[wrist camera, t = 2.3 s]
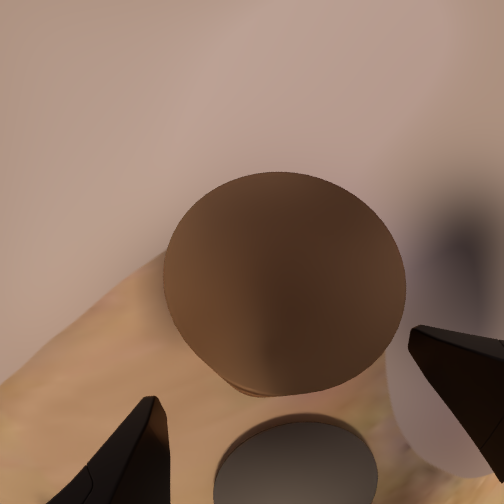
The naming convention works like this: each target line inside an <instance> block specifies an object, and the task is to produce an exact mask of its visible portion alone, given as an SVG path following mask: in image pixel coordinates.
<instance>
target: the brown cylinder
mask: <svg viewBox="0 0 504 504" xmlns="http://www.w3.org/2000/svg"><path fill="white" fill-rule="evenodd" d="M163 280H164V292H165V297H166V301H167V305H168V309H169V311H170V314H171V316H172V319H173V321H174V324H175V326H176V327H177V329H178V331H179V332H180V334H181V336H182V337H183V339H184V340H185V342H186V343H187V344H188V345H189V346H190V348H191V349H192V350H193V351H194V352H195V354H196V355H197V356H198V357H200V358H201V359H202V360H203V361H204V362H205V363H206V364H207V365H208V366H209V367H210V368H212V369H213V370H214V371H215V372H216V373H217V374H218V375H219V376H221V377H222V378H223V379H224V380H225V381H226V382H227V383H229V384H230V385H231V386H232V387H233V388H235V389H236V390H238V391H239V392H241V393H243V394H246V395H249V396H253V397H276V396H287V395H297V394H305V393H311V392H317V391H322V390H326V389H329V388H332V387H335V386H337V385H340V384H342V383H344V382H346V381H348V380H350V379H352V378H354V377H356V376H357V375H359V374H360V373H361V372H363V371H364V370H365V369H367V368H368V367H369V366H371V365H372V364H373V363H374V362H375V361H376V360H377V359H378V358H379V357H380V356H381V355H382V353H383V352H384V351H385V349H386V348H387V346H388V345H389V344H390V342H391V341H392V339H393V337H394V335H395V333H396V331H397V329H398V327H399V324H400V321H401V318H402V315H403V311H404V305H405V300H406V279H405V270H404V266H403V262H402V258H401V255H400V253H399V250H398V247H397V245H396V243H395V241H394V239H393V237H392V235H391V233H390V232H389V230H388V229H387V227H386V226H385V225H384V223H383V222H382V220H381V219H380V218H379V217H378V216H377V215H376V213H375V212H374V211H373V210H372V209H370V208H369V207H368V206H367V205H366V204H365V203H364V202H363V201H361V200H360V199H359V198H357V197H356V196H355V195H353V194H352V193H350V192H348V191H347V190H345V189H343V188H341V187H339V186H337V185H335V184H333V183H331V182H328V181H325V180H323V179H320V178H317V177H312V176H309V175H304V174H298V173H290V172H267V173H259V174H253V175H248V176H244V177H241V178H238V179H235V180H232V181H230V182H227V183H225V184H223V185H221V186H219V187H217V188H215V189H214V190H212V191H211V192H209V193H208V194H206V195H205V196H204V197H202V198H201V199H200V200H199V201H197V202H196V203H195V204H194V205H193V206H192V207H191V208H190V210H189V211H188V212H187V213H186V214H185V215H184V217H183V218H182V220H181V221H180V222H179V224H178V226H177V227H176V229H175V231H174V233H173V235H172V237H171V240H170V243H169V245H168V248H167V252H166V257H165V261H164V274H163Z"/></svg>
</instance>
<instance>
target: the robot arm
mask: <svg viewBox="0 0 504 504" xmlns="http://www.w3.org/2000/svg"><path fill="white" fill-rule="evenodd" d="M408 350H409V352H410V354H411V355H412V357H413V359H414V360H415V362H416V363H417V365H418V366H419V368H420V369H421V371H422V373H423V374H424V376H425V377H426V379H427V380H428V382H429V383H430V384H431V385H432V387H433V388H434V389H435V391H436V392H437V393H438V394H439V396H440V397H441V398H442V400H443V401H444V402H445V404H446V405H447V406H448V407H449V409H450V410H451V411H452V413H453V414H454V415H455V417H456V418H457V419H458V421H459V422H460V424H461V425H462V426H463V428H464V429H465V430H466V432H467V433H468V435H469V436H470V437H471V439H472V440H473V441H474V443H475V445H476V446H477V447H478V449H479V450H480V452H481V454H482V455H483V456H484V458H485V459H486V461H487V462H488V464H489V465H490V467H491V468H492V470H493V472H494V473H495V475H496V476H497V478H498V479H499V481H500V482H501V483H503V482H504V340H497V339H492V338H487V337H481V336H476V335H470V334H465V333H459V332H455V331H449V330H444V329H439V328H435V327H430V326H425V325H418V326H416V327H414V328H412V329H411V331H410V337H409V343H408ZM46 504H170V448H169V438H168V426H167V416H166V413H165V411H164V409H163V407H162V405H161V403H160V401H159V399H158V398H157V397H156V396H146V397H144V398H143V399H142V400H141V401H140V402H139V403H138V404H137V406H136V407H135V408H134V409H133V410H132V412H131V413H130V414H129V415H128V416H127V417H126V419H125V420H124V421H123V422H122V423H121V424H120V426H119V427H118V428H117V429H116V430H115V432H114V433H113V434H112V435H111V436H110V437H109V439H108V440H107V441H106V442H105V443H104V444H103V446H102V447H101V448H100V449H99V450H98V451H97V452H96V454H95V455H94V456H93V457H92V458H91V459H90V461H89V462H88V463H87V465H85V466H84V467H83V469H82V470H81V471H80V472H79V473H78V474H77V475H76V476H75V477H74V478H73V480H72V481H71V482H70V483H69V484H68V485H66V486H65V487H64V488H63V489H62V490H61V491H60V492H59V493H58V494H57V495H55V496H54V497H53V498H52V499H51V500H50V501H49V502H47V503H46Z"/></svg>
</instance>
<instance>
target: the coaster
mask: <svg viewBox="0 0 504 504" xmlns="http://www.w3.org/2000/svg"><path fill="white" fill-rule="evenodd" d="M377 481H378V472H377V466H376V462H375V460H374V457H373V455H372V453H371V452H370V450H369V448H368V447H367V446H366V445H365V444H364V442H363V441H361V440H360V439H359V438H358V437H357V436H355V435H353V434H352V433H350V432H349V431H346V430H344V429H342V428H339V427H336V426H332V425H329V424H323V423H317V422H296V423H290V424H284V425H280V426H276V427H273V428H270V429H267V430H265V431H263V432H261V433H258V434H256V435H254V436H253V437H251V438H250V439H248V440H246V441H245V442H244V443H242V444H241V445H240V446H238V447H237V448H236V449H235V450H234V451H233V452H232V453H231V454H230V455H229V457H228V458H227V459H226V460H225V462H224V463H223V465H222V467H221V469H220V470H219V473H218V475H217V478H216V481H215V485H214V491H213V500H214V504H371V503H372V500H373V498H374V496H375V492H376V488H377Z"/></svg>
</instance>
